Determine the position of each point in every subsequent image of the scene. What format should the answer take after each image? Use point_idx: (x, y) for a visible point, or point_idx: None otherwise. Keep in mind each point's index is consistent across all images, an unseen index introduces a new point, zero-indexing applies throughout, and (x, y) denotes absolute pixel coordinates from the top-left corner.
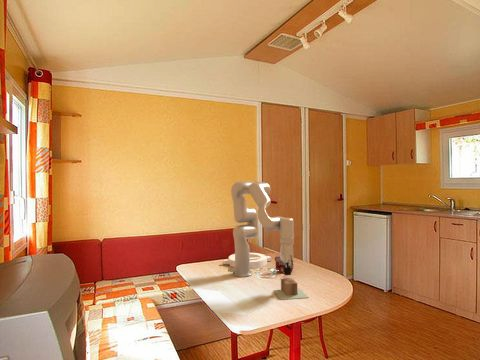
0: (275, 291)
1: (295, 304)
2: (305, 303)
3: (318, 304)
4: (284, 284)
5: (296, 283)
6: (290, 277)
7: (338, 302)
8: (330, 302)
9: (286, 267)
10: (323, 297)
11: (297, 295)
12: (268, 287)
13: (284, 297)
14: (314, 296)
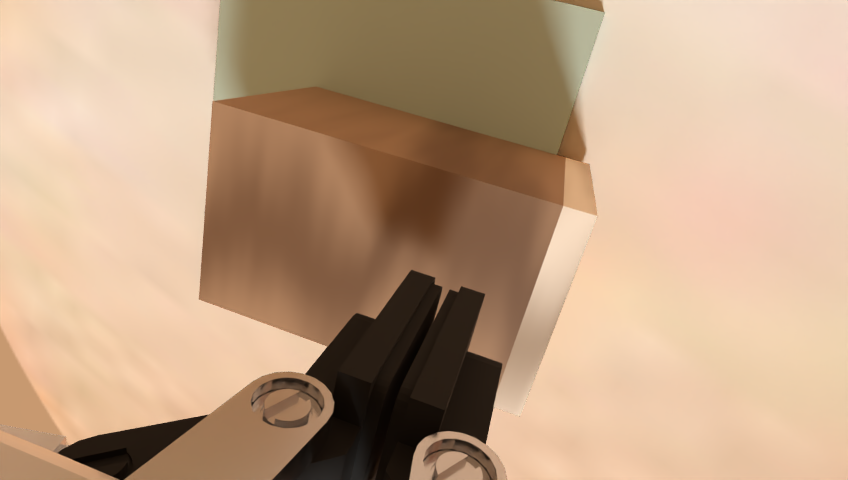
0: (528, 13)
1: (77, 47)
2: (86, 168)
3: (51, 265)
4: (342, 126)
5: (202, 284)
6: (516, 398)
7: (68, 429)
8: (76, 381)
9: (253, 397)
10: (182, 414)
11: None
12: (811, 3)
13: (264, 21)
14: (223, 366)
